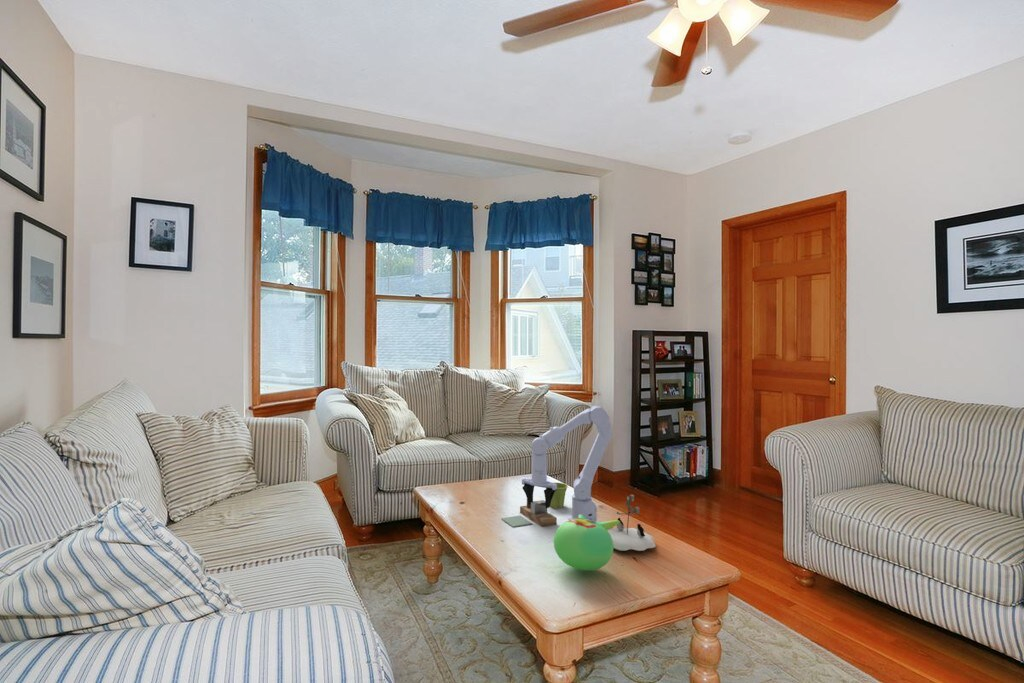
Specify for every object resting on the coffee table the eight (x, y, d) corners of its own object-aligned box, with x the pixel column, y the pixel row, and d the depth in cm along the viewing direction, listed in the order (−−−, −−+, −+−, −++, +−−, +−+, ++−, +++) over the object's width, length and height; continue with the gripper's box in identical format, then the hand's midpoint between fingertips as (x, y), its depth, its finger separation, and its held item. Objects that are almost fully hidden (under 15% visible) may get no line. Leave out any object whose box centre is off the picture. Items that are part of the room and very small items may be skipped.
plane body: (556, 524, 196) (556, 509, 196) (542, 526, 193) (542, 511, 193) (533, 510, 212) (533, 496, 212) (520, 512, 209) (520, 498, 209)
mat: (532, 524, 196) (532, 523, 196) (512, 527, 192) (512, 526, 192) (520, 516, 205) (520, 515, 205) (501, 519, 201) (501, 518, 201)
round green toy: (543, 565, 159) (543, 516, 159) (578, 550, 171) (578, 504, 171) (591, 585, 146) (591, 531, 146) (626, 567, 158) (626, 517, 158)
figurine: (587, 536, 185) (587, 489, 185) (632, 529, 191) (632, 484, 191) (619, 557, 166) (619, 505, 166) (667, 549, 173) (667, 499, 173)
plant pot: (568, 510, 213) (568, 488, 213) (545, 510, 213) (545, 488, 213) (566, 503, 222) (566, 482, 222) (544, 503, 222) (544, 482, 222)
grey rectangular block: (547, 512, 201) (547, 502, 201) (534, 514, 199) (534, 504, 199) (543, 510, 204) (543, 500, 204) (530, 512, 202) (530, 501, 202)
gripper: (561, 470, 201) (560, 506, 201) (528, 465, 209) (528, 500, 209) (551, 474, 195) (551, 511, 195) (518, 468, 203) (518, 504, 203)
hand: (539, 505), depth 202 cm, fingers open, 7 cm apart
